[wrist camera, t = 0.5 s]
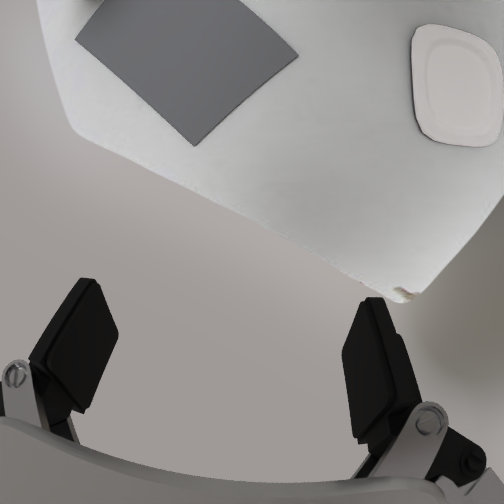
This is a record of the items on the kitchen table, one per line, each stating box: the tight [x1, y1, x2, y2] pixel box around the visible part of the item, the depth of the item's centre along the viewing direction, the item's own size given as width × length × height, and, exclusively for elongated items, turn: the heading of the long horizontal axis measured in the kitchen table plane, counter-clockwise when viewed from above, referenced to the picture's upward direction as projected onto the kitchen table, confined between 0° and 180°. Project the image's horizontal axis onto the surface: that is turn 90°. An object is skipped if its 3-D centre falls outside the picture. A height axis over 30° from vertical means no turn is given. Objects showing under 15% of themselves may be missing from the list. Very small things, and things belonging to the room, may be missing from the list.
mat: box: [75, 0, 298, 146], centre depth 28 cm, size 18×26×1 cm
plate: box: [411, 24, 504, 147], centre depth 27 cm, size 18×18×2 cm
